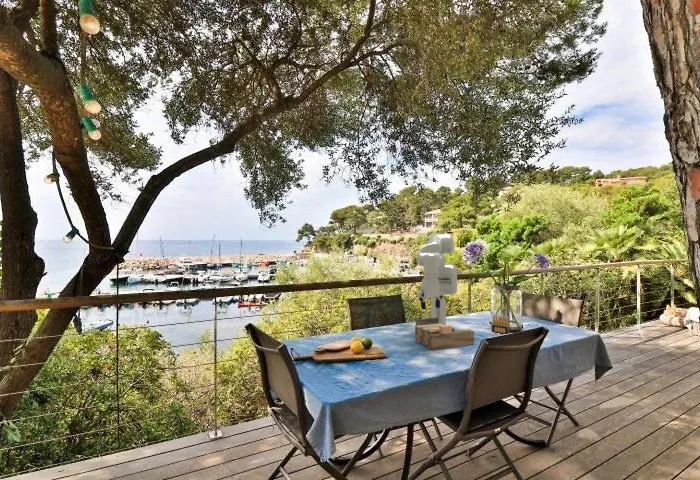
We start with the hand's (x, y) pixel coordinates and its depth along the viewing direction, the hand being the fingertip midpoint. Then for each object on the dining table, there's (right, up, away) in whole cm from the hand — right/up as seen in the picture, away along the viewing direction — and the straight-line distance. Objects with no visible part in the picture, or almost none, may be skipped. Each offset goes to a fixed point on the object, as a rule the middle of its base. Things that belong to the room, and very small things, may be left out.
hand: (430, 308), depth 237 cm
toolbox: (+10, -22, +14) cm, 28 cm away
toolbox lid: (+5, -14, +14) cm, 20 cm away
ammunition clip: (+50, -21, +34) cm, 64 cm away
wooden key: (+9, -14, +4) cm, 18 cm away
